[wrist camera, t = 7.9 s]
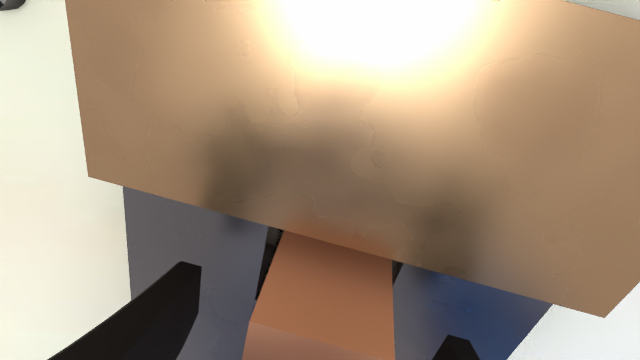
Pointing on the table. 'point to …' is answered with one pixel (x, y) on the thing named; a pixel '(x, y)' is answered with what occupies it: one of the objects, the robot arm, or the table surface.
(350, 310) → the light brown rectangular block
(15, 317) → the table surface
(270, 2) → the bracket plate
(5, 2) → the phone
